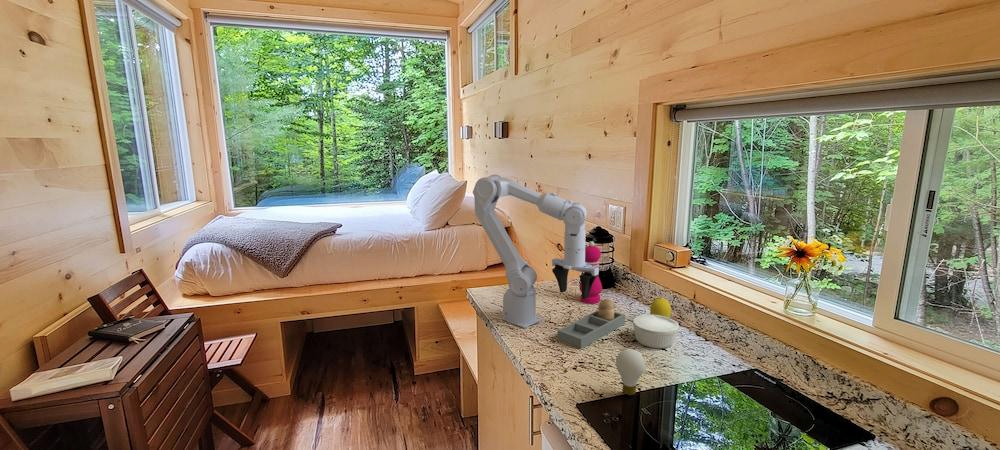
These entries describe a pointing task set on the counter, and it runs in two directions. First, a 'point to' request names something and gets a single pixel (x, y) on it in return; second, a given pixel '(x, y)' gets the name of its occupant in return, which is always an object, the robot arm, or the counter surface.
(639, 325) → the ramekin
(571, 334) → the tray
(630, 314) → the counter surface
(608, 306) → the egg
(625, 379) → the light bulb
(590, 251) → the pepper mill
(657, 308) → the lemon
